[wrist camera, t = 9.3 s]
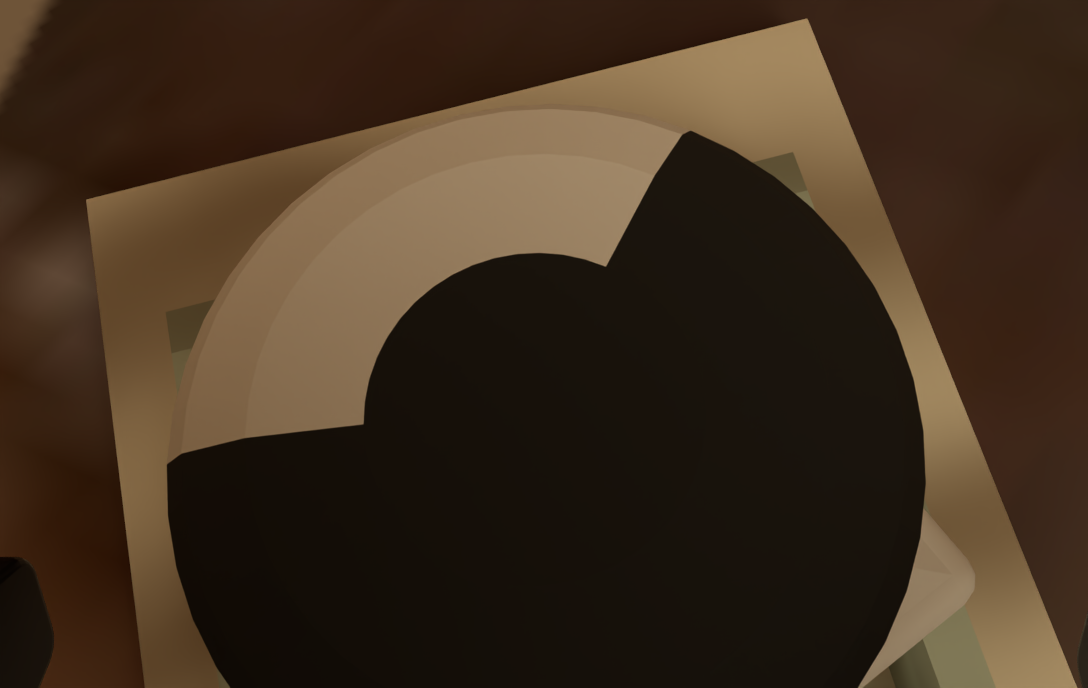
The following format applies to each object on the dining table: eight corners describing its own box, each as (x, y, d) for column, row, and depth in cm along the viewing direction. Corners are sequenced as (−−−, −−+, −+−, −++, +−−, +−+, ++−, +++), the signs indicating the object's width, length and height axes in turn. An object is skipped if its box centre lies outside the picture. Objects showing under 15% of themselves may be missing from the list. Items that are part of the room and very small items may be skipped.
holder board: (1193, 1043, 17) (1339, 1131, 14) (246, 1313, 16) (157, 1473, 13) (798, 45, 23) (831, -61, 20) (107, 219, 23) (23, 140, 19)
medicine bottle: (852, 620, 18) (1265, 514, 7) (529, 878, 17) (393, 1247, 6) (611, 319, 20) (626, -142, 9) (309, 534, 19) (-109, 320, 8)
